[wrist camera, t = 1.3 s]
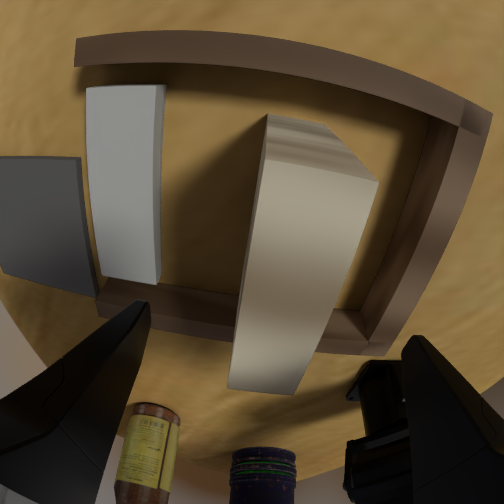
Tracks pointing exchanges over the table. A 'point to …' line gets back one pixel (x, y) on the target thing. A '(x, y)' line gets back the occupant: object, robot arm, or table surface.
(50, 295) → the table surface
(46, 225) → the mat
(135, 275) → the offcut top
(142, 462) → the sauce bottle
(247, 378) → the pale wooden block
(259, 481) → the dark blue cylinder
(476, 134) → the frame
